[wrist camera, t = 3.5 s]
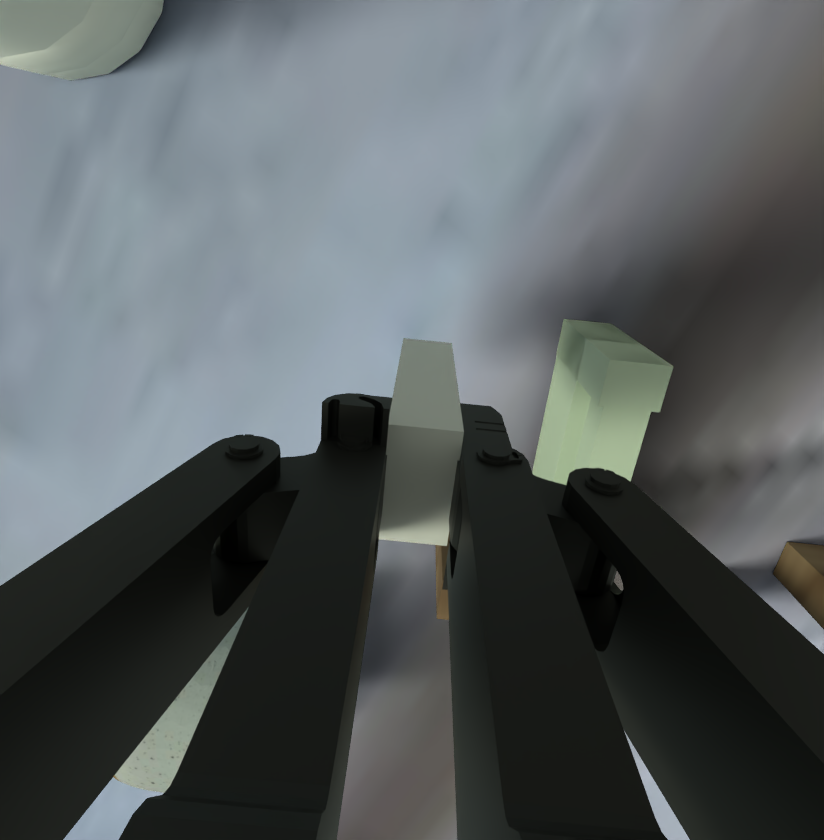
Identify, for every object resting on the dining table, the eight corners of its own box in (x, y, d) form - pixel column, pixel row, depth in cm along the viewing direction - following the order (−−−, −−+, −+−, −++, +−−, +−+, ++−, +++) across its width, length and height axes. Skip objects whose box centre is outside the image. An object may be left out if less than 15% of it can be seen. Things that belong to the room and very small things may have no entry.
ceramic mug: (150, 580, 26) (47, 725, 19) (312, 568, 25) (267, 713, 18) (208, 726, 30) (141, 888, 23) (348, 718, 30) (323, 883, 23)
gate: (564, 513, 23) (602, 601, 18) (523, 509, 23) (550, 596, 18) (611, 323, 20) (673, 366, 15) (563, 318, 20) (609, 359, 15)
